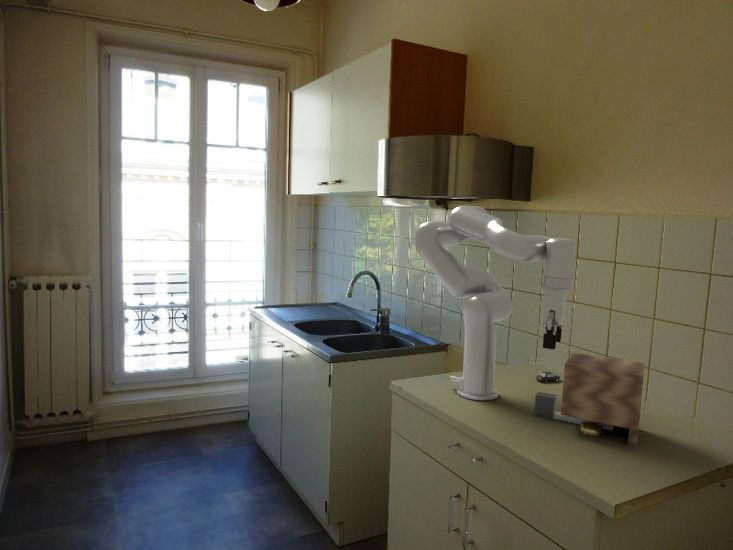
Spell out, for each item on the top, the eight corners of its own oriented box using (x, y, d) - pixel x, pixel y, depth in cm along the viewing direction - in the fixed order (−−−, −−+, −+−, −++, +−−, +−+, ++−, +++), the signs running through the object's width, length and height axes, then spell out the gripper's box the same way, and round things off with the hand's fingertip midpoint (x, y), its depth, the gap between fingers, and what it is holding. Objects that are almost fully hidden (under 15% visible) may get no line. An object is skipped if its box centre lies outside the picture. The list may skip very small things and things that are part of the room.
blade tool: (534, 415, 151) (535, 395, 150) (536, 411, 154) (538, 391, 153) (612, 431, 142) (614, 409, 141) (613, 427, 145) (615, 405, 144)
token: (578, 433, 140) (579, 427, 140) (581, 427, 144) (581, 420, 144) (599, 438, 138) (600, 431, 137) (601, 431, 142) (602, 424, 142)
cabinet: (559, 431, 140) (564, 364, 138) (567, 414, 152) (572, 352, 150) (636, 447, 132) (643, 376, 130) (638, 428, 144) (644, 362, 142)
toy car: (561, 381, 184) (563, 359, 183) (533, 385, 179) (534, 361, 179) (553, 378, 188) (555, 356, 187) (525, 381, 183) (527, 358, 182)
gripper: (548, 279, 156) (543, 336, 158) (537, 285, 141) (531, 349, 143) (575, 281, 153) (570, 340, 155) (567, 288, 138) (561, 354, 140)
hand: (551, 344), depth 149 cm, fingers open, 9 cm apart
